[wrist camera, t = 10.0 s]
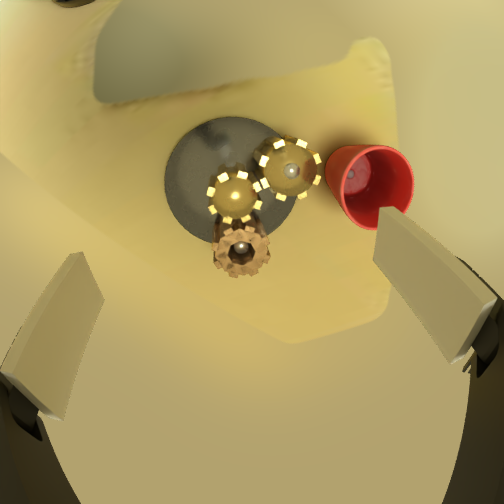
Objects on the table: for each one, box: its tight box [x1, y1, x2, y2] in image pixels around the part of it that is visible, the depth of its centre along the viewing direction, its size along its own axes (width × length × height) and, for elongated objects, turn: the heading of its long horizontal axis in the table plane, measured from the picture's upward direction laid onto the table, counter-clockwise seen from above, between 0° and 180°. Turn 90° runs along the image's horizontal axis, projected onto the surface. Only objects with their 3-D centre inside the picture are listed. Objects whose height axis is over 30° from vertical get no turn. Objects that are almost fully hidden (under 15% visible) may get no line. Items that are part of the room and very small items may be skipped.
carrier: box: [165, 117, 321, 254], centre depth 33 cm, size 18×20×8 cm
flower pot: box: [325, 145, 414, 230], centre depth 33 cm, size 11×11×10 cm
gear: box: [212, 213, 270, 278], centre depth 36 cm, size 7×7×6 cm
